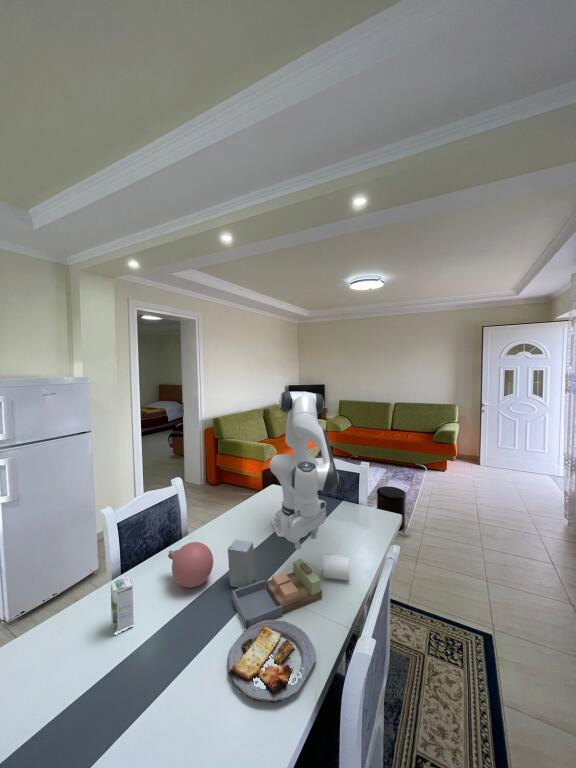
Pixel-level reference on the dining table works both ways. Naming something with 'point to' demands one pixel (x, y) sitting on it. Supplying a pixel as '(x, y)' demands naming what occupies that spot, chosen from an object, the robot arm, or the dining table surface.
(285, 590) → the tile
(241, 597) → the tray
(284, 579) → the tile
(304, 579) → the green bar
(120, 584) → the syrup box
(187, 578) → the balloon
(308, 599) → the brown flat block
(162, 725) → the dining table surface
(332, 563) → the mug
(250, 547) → the skincare box
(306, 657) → the food plate
